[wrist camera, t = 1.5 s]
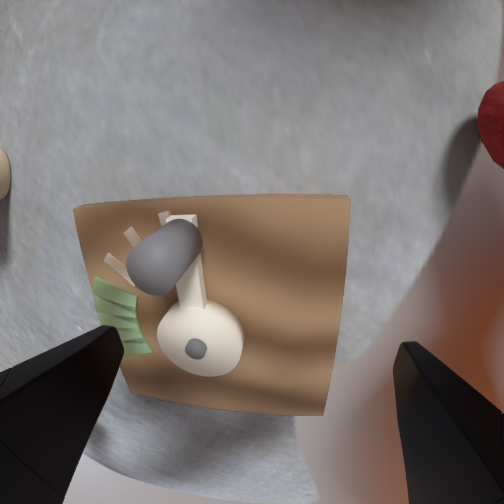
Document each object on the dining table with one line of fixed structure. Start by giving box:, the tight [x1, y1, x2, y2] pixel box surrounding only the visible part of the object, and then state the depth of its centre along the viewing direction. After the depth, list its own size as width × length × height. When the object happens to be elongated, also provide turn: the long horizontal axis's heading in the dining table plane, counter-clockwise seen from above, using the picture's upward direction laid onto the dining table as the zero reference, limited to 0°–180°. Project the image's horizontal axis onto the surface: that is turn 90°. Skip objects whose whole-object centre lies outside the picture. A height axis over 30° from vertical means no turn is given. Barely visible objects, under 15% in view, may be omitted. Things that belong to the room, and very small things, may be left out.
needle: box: [126, 215, 245, 377], centre depth 17 cm, size 12×6×5 cm, turn 2°
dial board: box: [73, 194, 351, 416], centre depth 21 cm, size 19×19×2 cm
